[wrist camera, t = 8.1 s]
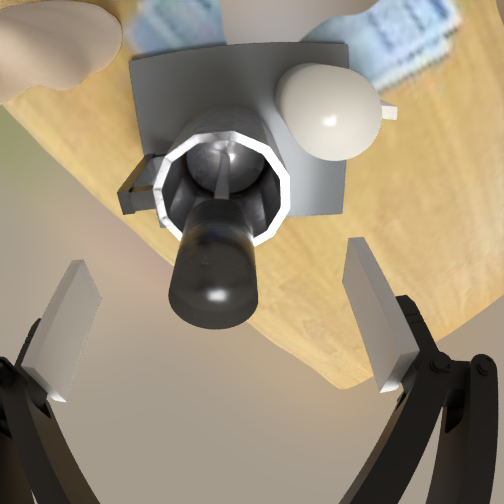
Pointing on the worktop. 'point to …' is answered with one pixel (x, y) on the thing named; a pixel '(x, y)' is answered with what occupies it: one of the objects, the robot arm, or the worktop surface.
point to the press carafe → (192, 193)
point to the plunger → (217, 241)
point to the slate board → (242, 93)
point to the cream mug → (330, 110)
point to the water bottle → (54, 45)
